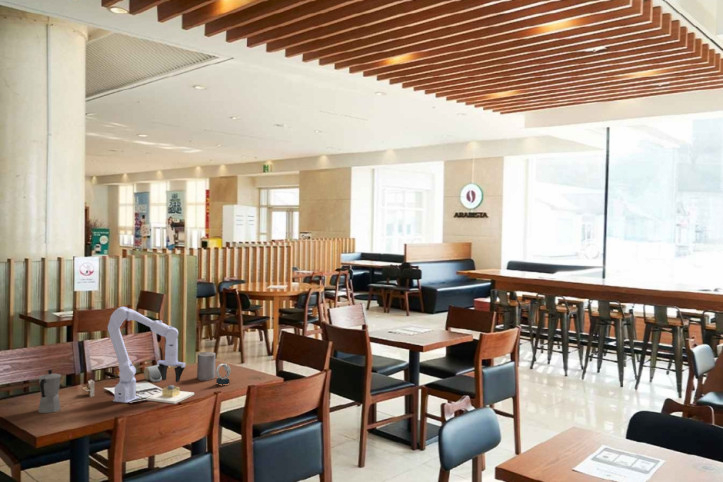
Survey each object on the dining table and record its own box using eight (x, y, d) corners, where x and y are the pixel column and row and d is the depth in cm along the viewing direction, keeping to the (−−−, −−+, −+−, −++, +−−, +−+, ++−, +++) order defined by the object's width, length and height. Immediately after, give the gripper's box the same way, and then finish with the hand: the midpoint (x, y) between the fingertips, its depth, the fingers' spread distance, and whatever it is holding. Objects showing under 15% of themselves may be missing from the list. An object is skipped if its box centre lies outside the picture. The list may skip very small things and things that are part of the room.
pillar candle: (196, 376, 323) (197, 349, 323) (214, 375, 326) (215, 349, 326) (197, 381, 314) (197, 353, 313) (215, 380, 317) (216, 352, 316)
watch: (232, 384, 309) (232, 363, 309) (219, 386, 303) (219, 365, 303) (226, 382, 313) (226, 361, 313) (213, 384, 307) (213, 364, 307)
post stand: (175, 403, 272) (175, 391, 272) (146, 400, 277) (146, 388, 277) (194, 394, 288) (194, 383, 288) (166, 391, 292) (166, 380, 292)
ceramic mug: (143, 379, 315) (143, 365, 315) (158, 377, 321) (158, 363, 320) (150, 383, 307) (150, 369, 307) (165, 381, 312) (165, 367, 312)
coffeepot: (45, 405, 265) (45, 366, 265) (66, 405, 266) (67, 366, 266) (29, 416, 250) (29, 374, 249) (52, 416, 250) (52, 374, 250)
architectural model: (86, 398, 280) (87, 382, 279) (82, 395, 285) (82, 379, 285) (94, 397, 282) (94, 381, 282) (89, 393, 287) (89, 378, 287)
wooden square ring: (172, 397, 279) (172, 390, 279) (162, 396, 281) (162, 388, 280) (179, 394, 284) (179, 387, 284) (169, 393, 286) (169, 386, 286)
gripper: (189, 352, 284) (188, 380, 284) (163, 350, 288) (163, 377, 288) (180, 355, 277) (180, 383, 277) (154, 352, 281) (154, 380, 281)
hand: (170, 380), depth 282 cm, fingers open, 7 cm apart
